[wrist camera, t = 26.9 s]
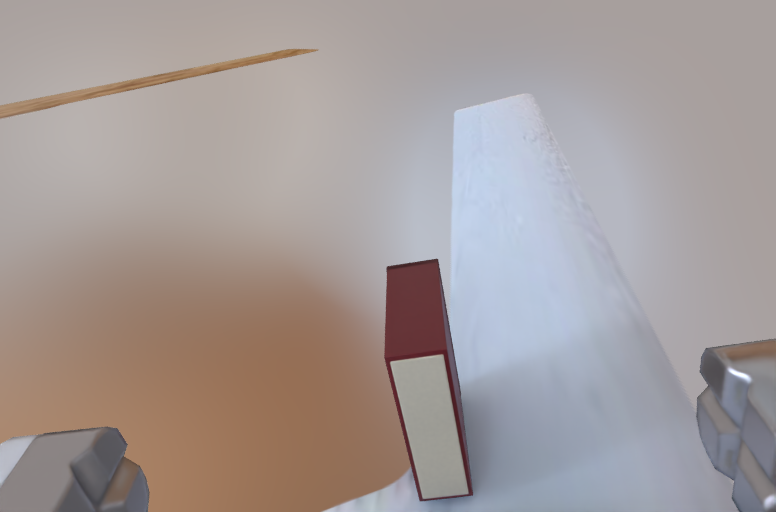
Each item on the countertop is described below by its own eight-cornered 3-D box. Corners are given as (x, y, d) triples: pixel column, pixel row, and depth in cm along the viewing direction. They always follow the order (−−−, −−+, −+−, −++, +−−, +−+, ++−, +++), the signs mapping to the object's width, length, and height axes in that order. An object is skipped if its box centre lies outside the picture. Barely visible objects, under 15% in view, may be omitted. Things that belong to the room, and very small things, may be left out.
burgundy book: (460, 390, 54) (437, 258, 47) (474, 497, 45) (447, 350, 38) (415, 396, 55) (386, 265, 48) (419, 503, 45) (383, 358, 38)
